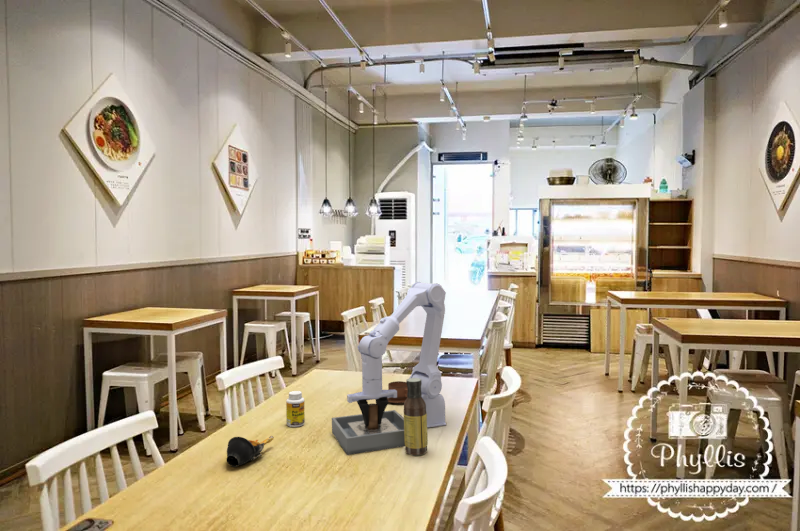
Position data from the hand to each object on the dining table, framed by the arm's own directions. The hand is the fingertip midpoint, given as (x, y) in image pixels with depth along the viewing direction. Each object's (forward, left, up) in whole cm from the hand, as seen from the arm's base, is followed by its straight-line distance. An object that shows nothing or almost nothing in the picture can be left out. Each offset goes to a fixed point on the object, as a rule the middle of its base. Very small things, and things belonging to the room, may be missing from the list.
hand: (372, 424), depth 154 cm
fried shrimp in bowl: (+34, +2, -4) cm, 34 cm away
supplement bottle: (+19, -20, -4) cm, 28 cm away
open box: (0, 0, -4) cm, 4 cm away
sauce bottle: (-8, +14, -4) cm, 16 cm away
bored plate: (0, 0, -4) cm, 4 cm away
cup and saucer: (-20, -32, -5) cm, 38 cm away
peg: (0, 0, -2) cm, 2 cm away
